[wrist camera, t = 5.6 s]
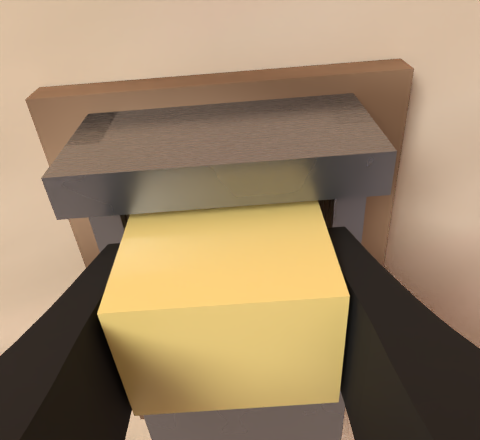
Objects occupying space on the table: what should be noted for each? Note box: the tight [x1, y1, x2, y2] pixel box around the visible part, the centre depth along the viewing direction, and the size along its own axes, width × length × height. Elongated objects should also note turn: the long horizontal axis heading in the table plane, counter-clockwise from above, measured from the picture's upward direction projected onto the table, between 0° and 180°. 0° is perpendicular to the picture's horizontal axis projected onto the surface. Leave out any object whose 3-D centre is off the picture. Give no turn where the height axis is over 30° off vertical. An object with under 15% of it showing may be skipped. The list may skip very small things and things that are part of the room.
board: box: [26, 59, 414, 419], centre depth 16 cm, size 15×10×1 cm
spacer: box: [97, 200, 350, 416], centre depth 10 cm, size 3×4×4 cm
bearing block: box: [143, 391, 345, 440], centre depth 14 cm, size 3×6×4 cm, turn 94°
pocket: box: [41, 93, 397, 252], centre depth 12 cm, size 7×7×4 cm
